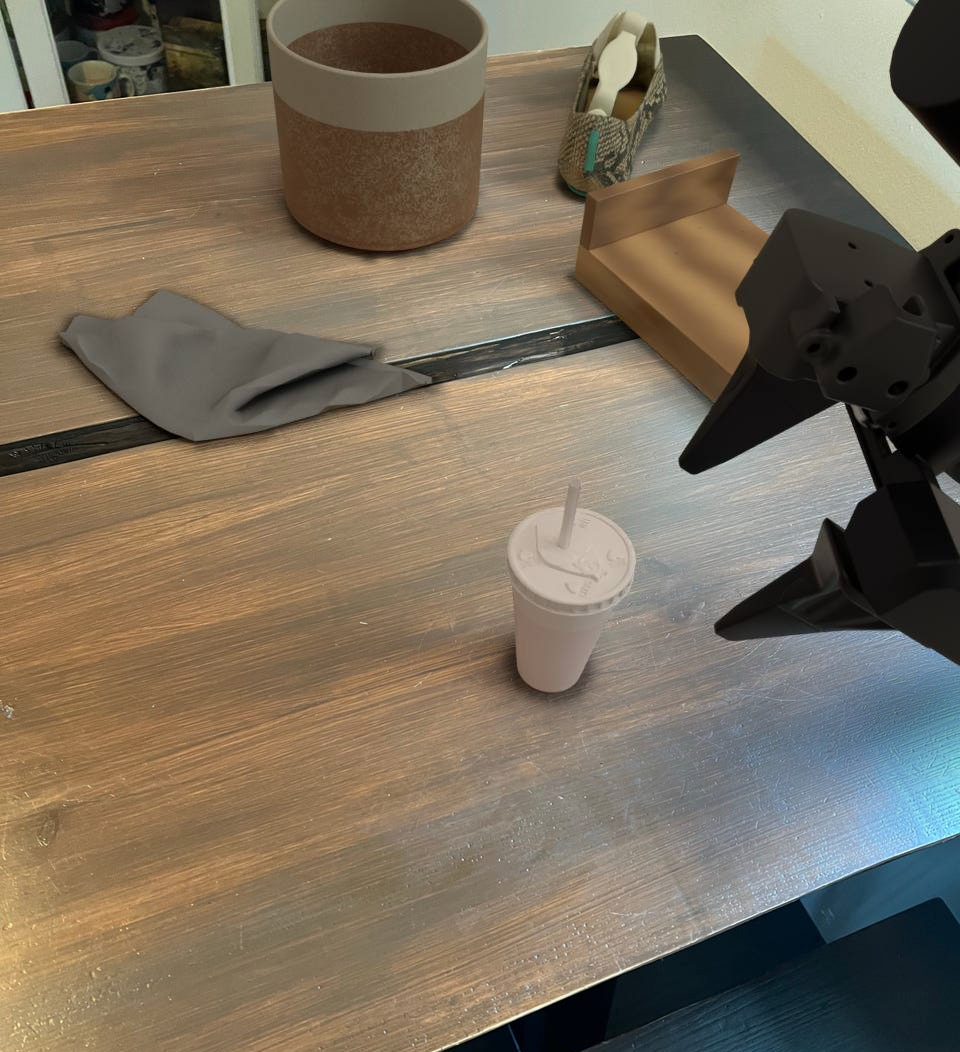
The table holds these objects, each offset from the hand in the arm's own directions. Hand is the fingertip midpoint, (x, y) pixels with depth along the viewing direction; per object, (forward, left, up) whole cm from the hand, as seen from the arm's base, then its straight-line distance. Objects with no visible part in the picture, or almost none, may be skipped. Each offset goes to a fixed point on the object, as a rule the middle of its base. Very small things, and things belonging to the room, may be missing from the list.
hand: (701, 545), depth 42 cm
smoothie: (+2, -6, -15) cm, 16 cm away
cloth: (+7, -37, -15) cm, 40 cm away
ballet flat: (-37, -51, -15) cm, 65 cm away
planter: (-13, -51, -15) cm, 55 cm away
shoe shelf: (-28, -25, -15) cm, 40 cm away
